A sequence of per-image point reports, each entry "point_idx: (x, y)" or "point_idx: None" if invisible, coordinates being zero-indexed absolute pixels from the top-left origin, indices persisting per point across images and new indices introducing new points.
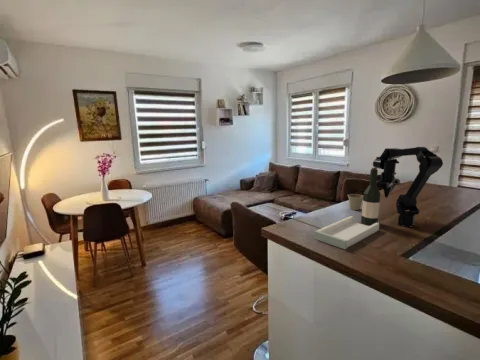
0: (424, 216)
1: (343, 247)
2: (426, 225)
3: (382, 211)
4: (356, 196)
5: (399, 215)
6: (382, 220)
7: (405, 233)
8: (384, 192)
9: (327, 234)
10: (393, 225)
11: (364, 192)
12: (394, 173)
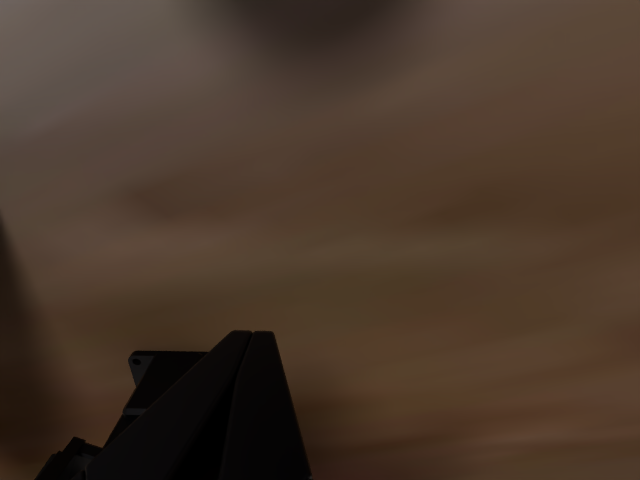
0: (568, 414)
1: None
2: (312, 460)
3: (503, 74)
4: None
5: (123, 416)
6: (125, 225)
7: (16, 423)
8: (109, 459)
9: None
10: (89, 333)
11: None
12: None
